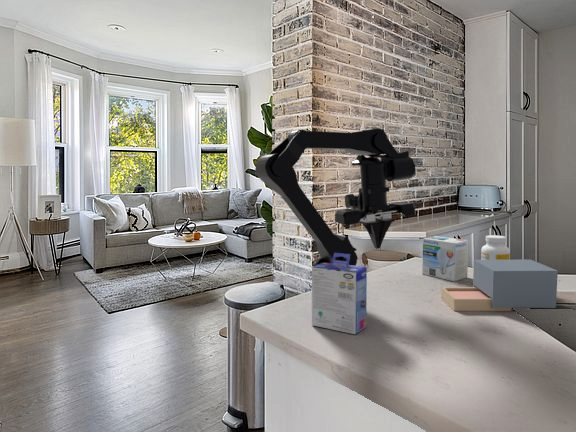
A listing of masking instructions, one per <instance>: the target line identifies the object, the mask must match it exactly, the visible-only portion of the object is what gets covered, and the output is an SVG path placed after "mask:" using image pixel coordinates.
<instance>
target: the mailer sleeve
mask: <svg viewBox="0 0 576 432" xmlns="http://www.w3.org/2000/svg"><path fill="white" fill-rule="evenodd" d="M558 273H559V271H558V270H557V269H554V268H552V267H550V266H548V265H545V264H542V263H541V262H538V261H535V260H533V259H526V258H524V259H510V260H481V259H473V274H472V275H473V279H472V287H477V288H479V289H480V290H481V291H483V292H484V293H486V294H487V295H488V296H490V297H491V298H492V304H491V307H492V308H511V309H514V308H515V309H521V308H522V309H531V308H532V309H539V308H540V309H555V308H557V292H558Z"/></svg>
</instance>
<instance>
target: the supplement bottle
mask: <svg viewBox="0 0 576 432" xmlns="http://www.w3.org/2000/svg"><path fill="white" fill-rule="evenodd" d="M485 242H486V243H485V244H484V245H483V246H482V247H481V249H480V250H481V252H480V260H511V259H510V258H511V257H510V256H511V255H510V253H511V252H510V251H511V250H510V248H509V247H508V246H506V245H505V244H506V242H507V237H506V236H505V235H498V234H497V235H493V234H492V235H490V234H489V235H485Z"/></svg>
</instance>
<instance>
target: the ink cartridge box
mask: <svg viewBox="0 0 576 432" xmlns="http://www.w3.org/2000/svg"><path fill="white" fill-rule="evenodd" d="M336 257H344V258H346V259H347V260H346V261H340V260H335V258H336ZM349 261H350V254H343V253H334V256H333V258H332V262H331V263H321V264H318V265H316V266H314V265H313V266H311V325H312V326H313V327H314V326H315V327H319V328H324V329H329V330H333V331H338V332H341V333H347V334H351V335H357V334H358V333H359V332H361V331H362V330H364V329H365V328H367V322H368V321H367V309H368V308H367V305H368V304H367V297H368V296H367V293H368V292H367V287H368V286H367V285H368V283H367V281H368V280H367V279H368V277H367V275H368V273H367V272H368V271H367V269H368V268H367V266H363V265H362V266H361V265H356V266H354V265H349Z"/></svg>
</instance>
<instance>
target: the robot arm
mask: <svg viewBox="0 0 576 432" xmlns="http://www.w3.org/2000/svg"><path fill="white" fill-rule="evenodd" d="M306 150H342V151H346V152H347V151H348V152H350V153H353V154H357V157H356V158H355V159H353V161H352V162H351V166H354V167H357V166H359V169H360V170H359V172H360V187H359V188H358V195H354V194H353V193H349V194H346V195H344V204H345V208H346V209H339V210H338V209H337V210H336V212H335V214H334V222H335V223H337V224H341V225H344V226H346V225H347V226H348V225H355V224H362V226H363V227H364V228H365V230H366V231H367V234H368V235H369V237H370V238H369V239H370V240H371V243H372V244H373V247H374V248H375V250H376V249H377V250H378V249H381V247H382V244H383V241H384V239H385V237H386V234H387V232H388V231H389V229H390V227H391V224H392V223H394V222H395V220H396V219H395V218H392V215H397V214H401V215H402V216H403V217H410V216H411V217H412V216H416V206H415V205H414V204H413V203H412V202H404V201H400V202H391V203H389V204H388V199H387V198H388V197H387V196H388V192H390V187H389V186H387V182H396V181H404V180H410V179H412V178H413V177H414V175H415V173H416V164H415V162H414V160H413V159H412V157H410V154H409V151H399V152H398V151H397V149H396V148H395V146H394V145H393V144H392V143H391V141H390V139H388V135H387V133H386V131H385V130H384V129H382V128H380V127H378V128H371V129H365V130H360V131H354V132H347V131H346V132H342V131H318V130H317V131H315V130H305V129H298V130H294V131H291V132H290V133H289V134H288V135H287V136H286V137H285V138H284V140H282V141H281V142H280V143H279V144H278V145H276V146H275V147H274V148H273V149H271V150H270V152H269V153H268V154H265V155H262V156H261V157H259V158H258V160H256V163H255V168H254V171H255V174H256V176H257V177H258V179H260V181H261V182H263V183H264V184H265V185H266V186H267V187H268V188H270V189H271V190H272V191H274V192H275V193H276V194H278V196H280V197H281V198H282V199H283V201H284V202H285V203H286V204H287V206H288V208H290V210H291V211H292V212H293V214H294V215H295V217H296V218H297V220H298V221H299V222H300V224H301V225H302V226H303V228H304V229H305V230H306V232H308V234H309V235H310V237H311V238H312V239H313V241H314V242H315V244H316V248H317V253H318V255H319V257H320V258H319V259H317V261H316V262H315V264H314V265H313V266H316V265H318V264H321V263H331V262H332V258H333V256H334V253H343V254H350V261H349V265H354V266H357V263H358V259H359V257H358V254H357V252H356V251H357V250H358V249H357V248H356V247H354V246H353V244H352V242H351V240H350V239H349V237H348V236H345V235H342V234H337V233H333V231H332V230H331V229H332V228H330V227H329V226H328V224H327V222H326V221H325V220H324V218H323V217H322V216H321V215H320V213H319V211H318V210H317V209H316V208H315V206H314V205H313V203H312V202H311V200H310V199H309V197H308V196H307V195H306V193H305V192H304V191H303V190H302V188H301V187H300V185H299V181H298V176H297V172H296V170H295V169H294V166H295V165H296V164H297V163H298V161H299V160H300V159H301V157H302V155H303V153H304V151H306ZM367 156H368V157H367ZM379 158H380V159H379ZM335 260H340V261H346V260H347V259H346V258H344V257H336V258H335Z"/></svg>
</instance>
